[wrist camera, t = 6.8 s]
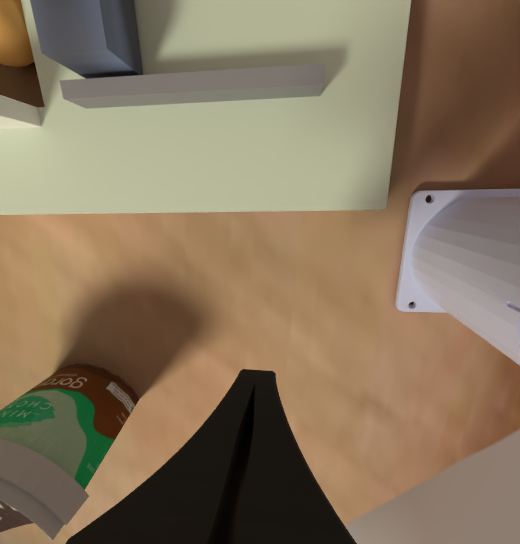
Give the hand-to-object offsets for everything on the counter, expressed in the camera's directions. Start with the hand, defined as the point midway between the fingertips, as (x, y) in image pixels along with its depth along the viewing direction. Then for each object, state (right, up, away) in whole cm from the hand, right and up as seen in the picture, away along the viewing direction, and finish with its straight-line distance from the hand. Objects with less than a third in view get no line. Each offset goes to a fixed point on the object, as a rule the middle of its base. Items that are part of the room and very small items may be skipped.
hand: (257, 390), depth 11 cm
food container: (-16, -5, +13) cm, 21 cm away
